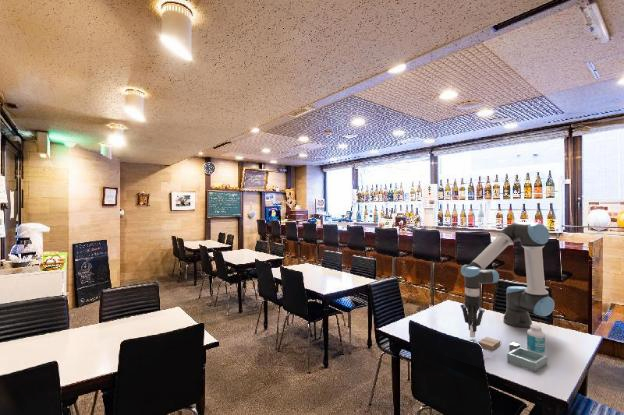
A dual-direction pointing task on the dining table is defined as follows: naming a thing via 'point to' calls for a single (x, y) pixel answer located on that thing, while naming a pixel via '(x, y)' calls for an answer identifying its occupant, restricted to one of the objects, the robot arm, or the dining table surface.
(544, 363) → the tray
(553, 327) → the dining table surface
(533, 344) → the pill bottle
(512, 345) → the bench dog
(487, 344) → the flat wooden block
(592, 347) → the dining table surface
